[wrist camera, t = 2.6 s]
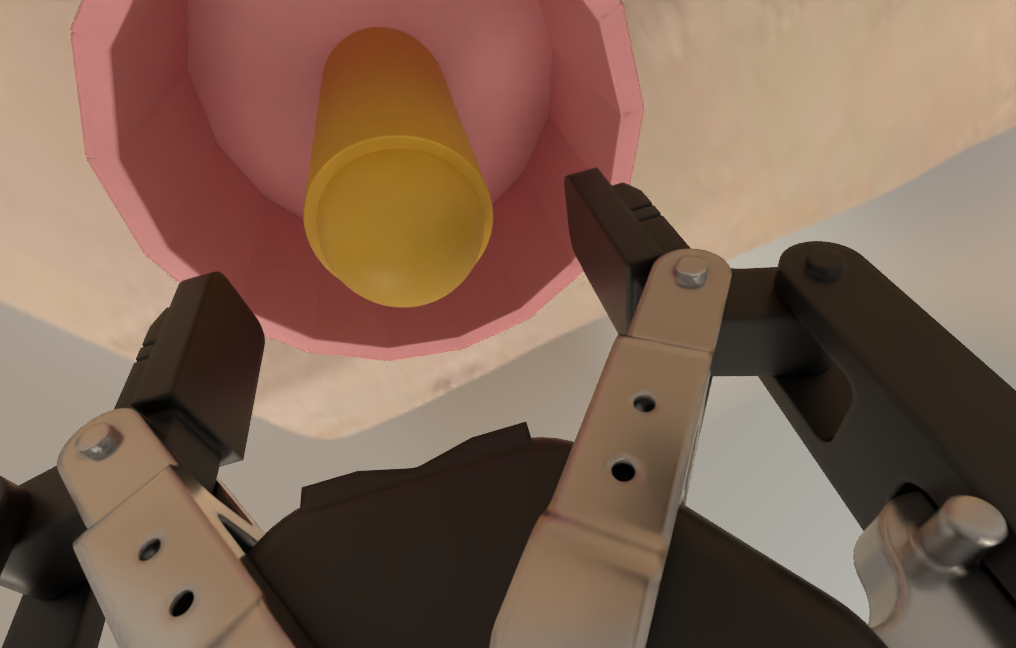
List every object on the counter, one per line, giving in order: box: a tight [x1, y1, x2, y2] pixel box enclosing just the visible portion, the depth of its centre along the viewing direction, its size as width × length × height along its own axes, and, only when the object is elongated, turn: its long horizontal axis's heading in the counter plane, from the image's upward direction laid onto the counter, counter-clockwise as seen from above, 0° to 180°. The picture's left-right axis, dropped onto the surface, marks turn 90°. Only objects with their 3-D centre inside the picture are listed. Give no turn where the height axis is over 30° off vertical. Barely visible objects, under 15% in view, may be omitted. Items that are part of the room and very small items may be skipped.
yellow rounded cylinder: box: [303, 27, 493, 307], centre depth 15 cm, size 5×5×11 cm
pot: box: [71, 0, 644, 361], centre depth 17 cm, size 14×14×8 cm
